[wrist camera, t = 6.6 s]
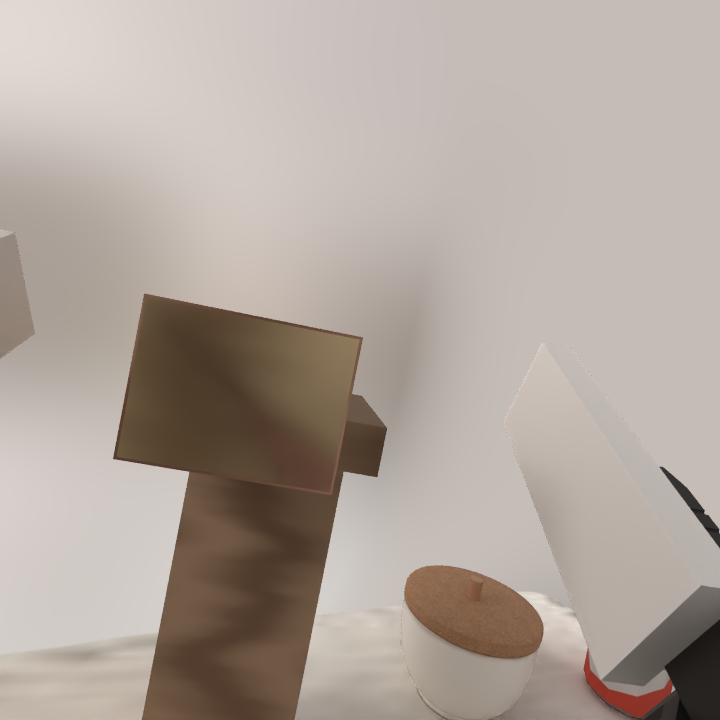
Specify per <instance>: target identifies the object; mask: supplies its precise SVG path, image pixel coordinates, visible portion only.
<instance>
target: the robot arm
mask: <svg viewBox="0 0 720 720" xmlns="http://www.w3.org/2000/svg"><path fill="white" fill-rule="evenodd" d="M34 333H35V332H34V327H33V322H32V317H31V312H30V307H29V302H28V296H27V292H26V286H25V281H24V277H23V271H22V266H21V261H20V255H19V251H18V245H17V240H16V235H15V232H10V231H6V230H1V229H0V358H2V357H3V356H5V355H6V354H7V353H9V352H10V351H12V350H13V349H14V348H16V347H17V346H18V345H20V344H21V343H23V342H24V341H25V340H27V339H28V338H29V337H31V336H32V335H33V334H34ZM503 423H504V426H505V429H506V431H507V434H508V437H509V440H510V442H511V445H512V447H513V450H514V453H515V455H516V458H517V460H518V463H519V466H520V469H521V471H522V474H523V477H524V479H525V482H526V484H527V487H528V490H529V492H530V495H531V498H532V500H533V503H534V505H535V508H536V511H537V513H538V516H539V519H540V521H541V524H542V526H543V529H544V532H545V534H546V537H547V540H548V542H549V545H550V547H551V550H552V553H553V555H554V558H555V561H556V563H557V566H558V569H559V572H560V574H561V577H562V579H563V582H564V585H565V587H566V590H567V593H568V595H569V598H570V601H571V603H572V606H573V609H574V611H575V614H576V616H577V619H578V622H579V624H580V627H581V630H582V632H583V635H584V638H585V640H586V643H587V646H588V648H589V651H590V653H591V656H592V659H593V661H594V664H595V667H596V669H597V672H598V675H599V677H600V680H601V681H608V682H615V683H622V684H629V685H636V686H643V687H644V686H645V685H646V684H647V683H648V682H650V681H651V680H652V679H653V678H654V677H656V676H657V675H658V674H659V673H660V672H661V671H663V670H664V669H666V671H667V673H668V675H669V677H670V679H671V681H672V683H673V685H674V687H675V689H676V690H675V691H674V692H672V693H671V694H670V695H669V696H667V697H666V698H665V699H663V700H662V701H661V702H660V703H658V704H657V705H656V706H655V707H653V708H652V709H651V710H649V711H648V712H647V713H646V714H644V716H643V718H642V719H641V720H720V534H719V528H718V527H717V526H716V525H715V523H714V522H713V521H712V519H711V518H710V517H709V515H705V514H704V511H705V510H704V509H703V508H702V507H701V505H700V504H699V503H698V501H697V500H696V499H695V497H694V496H693V495H692V494H691V492H690V491H689V490H688V489H687V488H686V487H685V486H684V485H683V484H682V483H681V482H680V481H678V480H677V479H676V478H675V477H674V476H673V475H672V474H670V473H669V472H668V471H667V470H666V469H665V468H663V467H659V466H658V465H657V463H656V462H655V461H654V459H653V458H652V457H651V456H650V454H649V453H648V451H647V450H646V449H645V447H644V446H643V445H642V443H641V442H640V441H639V439H638V438H637V437H636V435H635V434H634V433H633V431H632V430H631V428H630V427H629V426H628V425H627V423H626V422H625V420H624V419H623V418H622V416H621V415H620V414H619V412H618V411H617V410H616V408H615V407H614V406H613V404H612V403H611V402H610V400H609V399H608V398H607V396H606V395H605V393H604V392H603V391H602V389H601V388H600V387H599V386H598V384H597V383H596V381H595V380H594V379H593V377H592V376H591V375H590V373H589V372H588V371H587V370H586V368H585V367H584V365H583V364H582V363H581V361H580V360H579V359H578V357H577V356H576V355H575V353H574V352H573V351H572V349H571V348H570V347H566V346H561V345H555V344H551V343H546V342H542V344H541V346H540V348H539V350H538V352H537V355H536V356H535V358H534V360H533V362H532V364H531V367H530V368H529V370H528V372H527V374H526V377H525V379H524V381H523V383H522V385H521V387H520V389H519V391H518V393H517V395H516V397H515V399H514V401H513V403H512V405H511V407H510V409H509V411H508V413H507V415H506V417H505V419H504V421H503Z"/></svg>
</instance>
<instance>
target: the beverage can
mask: <svg viewBox="0 0 720 720" xmlns="http://www.w3.org/2000/svg"><path fill="white" fill-rule="evenodd" d="M584 672H585V676H586V679H587V683H588V684H589V685H590V686H591V687H592V688H593V689H594V690H595V692H596V693H597V694H598V695H599V696H600V697H601V698H602V699H603V700H604V701H605V702H606V703H607V704H608V705H609V706H611V707H612V708H614V709H616V710H618V711H620V712H621V713H623V714H625V715H627V716H629V717H634V718H639V719H642V718H643V716H644V714H646V713H647V712H648V711H649V710H651V709H652V708H653V707H655V706H656V705H657V704H658V703H660V702H661V701H662V700H663V699H665V698H666V697H667V696H669V695H670V694H671V690H672V685H673V683H672V681H671V679H670V677H669V675H668V673H667V671H666V669H664V670H663V671H661V672H660V673H659V674H658V675H657V676H656V677H654V678H653V679H652V680H651V681H650V682H648V683H647V684H646V685H645V686H644V687H643V686H636V685H629V684H622V683H615V682H608V681H601V680H600V677H599V675H598V672H597V669H596V667H595V664H594V661H593V659H592V656H591V653H590V651H589V648H588V650H587V655H586V660H585V665H584Z"/></svg>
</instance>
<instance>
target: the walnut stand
mask: <svg viewBox="0 0 720 720" xmlns="http://www.w3.org/2000/svg"><path fill="white" fill-rule="evenodd" d="M386 431H387V428H386V426H385V425H384V424H383V422H382V421H381V420H380V419H379V417H378V416H377V415H376V414H375V412H374V411H373V410H372V408H371V407H370V406H369V405H368V403H367V402H366V401H365V399H364V398H363V397H362V396H359V395H353V394H352V395H351V400H350V405H349V410H348V415H347V420H346V425H345V431H344V436H343V441H342V446H341V451H340V456H339V461H338V466H337V471H336V476H335V481H334V486H333V491H332V495H326V494H320V493H314V492H308V491H302V490H296V489H290V488H284V487H278V486H272V485H266V484H260V483H254V482H248V481H242V480H236V479H230V478H224V477H218V476H212V475H206V474H200V473H194V472H189V478H188V483H187V488H186V493H185V498H184V504H183V509H182V514H181V520H180V525H179V530H178V535H177V540H176V545H175V550H174V556H173V561H172V566H171V571H170V576H169V582H168V587H167V592H166V597H165V603H164V608H163V613H162V618H161V624H160V629H159V634H158V639H157V644H156V649H155V655H154V660H153V665H152V670H151V675H150V681H149V686H148V691H147V696H146V702H145V707H144V712H143V717H142V720H294V719H295V714H296V709H297V704H298V699H299V694H300V689H301V684H302V679H303V674H304V669H305V664H306V658H307V653H308V648H309V643H310V638H311V633H312V628H313V623H314V618H315V613H316V608H317V603H318V597H319V593H320V588H321V583H322V578H323V573H324V568H325V562H326V558H327V553H328V547H329V543H330V537H331V532H332V527H333V522H334V517H335V512H336V507H337V501H338V497H339V492H340V487H341V482H342V477H343V472H350V473H356V474H362V475H368V476H374V477H377V476H378V470H379V466H380V461H381V456H382V451H383V446H384V440H385V435H386Z"/></svg>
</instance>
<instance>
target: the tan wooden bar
mask: <svg viewBox="0 0 720 720" xmlns="http://www.w3.org/2000/svg"><path fill="white" fill-rule="evenodd" d="M362 340H363V338H362V337H357V336H353V335H347V334H342V333H338V332H332V331H328V330H322V329H317V328H313V327H308V326H303V325H298V324H293V323H288V322H282V321H278V320H273V319H268V318H263V317H258V316H253V315H248V314H243V313H238V312H233V311H228V310H223V309H218V308H213V307H208V306H203V305H198V304H193V303H188V302H184V301H179V300H174V299H169V298H164V297H158V296H153V295H149V294H144V298H143V303H142V309H141V314H140V320H139V325H138V330H137V335H136V340H135V346H134V351H133V356H132V362H131V367H130V372H129V377H128V383H127V389H126V393H125V399H124V404H123V409H122V415H121V420H120V425H119V430H118V436H117V441H116V446H115V452H114V457H113V459H117V460H123V461H129V462H135V463H141V464H147V465H153V466H159V467H165V468H170V469H176V470H182V471H189V472H194V473H200V474H206V475H212V476H218V477H224V478H230V479H236V480H242V481H248V482H254V483H260V484H266V485H272V486H278V487H284V488H290V489H296V490H302V491H308V492H314V493H320V494H326V495H332V491H333V486H334V481H335V476H336V471H337V466H338V461H339V456H340V451H341V446H342V441H343V436H344V431H345V425H346V420H347V415H348V410H349V405H350V400H351V395H352V389H353V385H354V380H355V374H356V370H357V364H358V360H359V355H360V350H361V344H362Z"/></svg>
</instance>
